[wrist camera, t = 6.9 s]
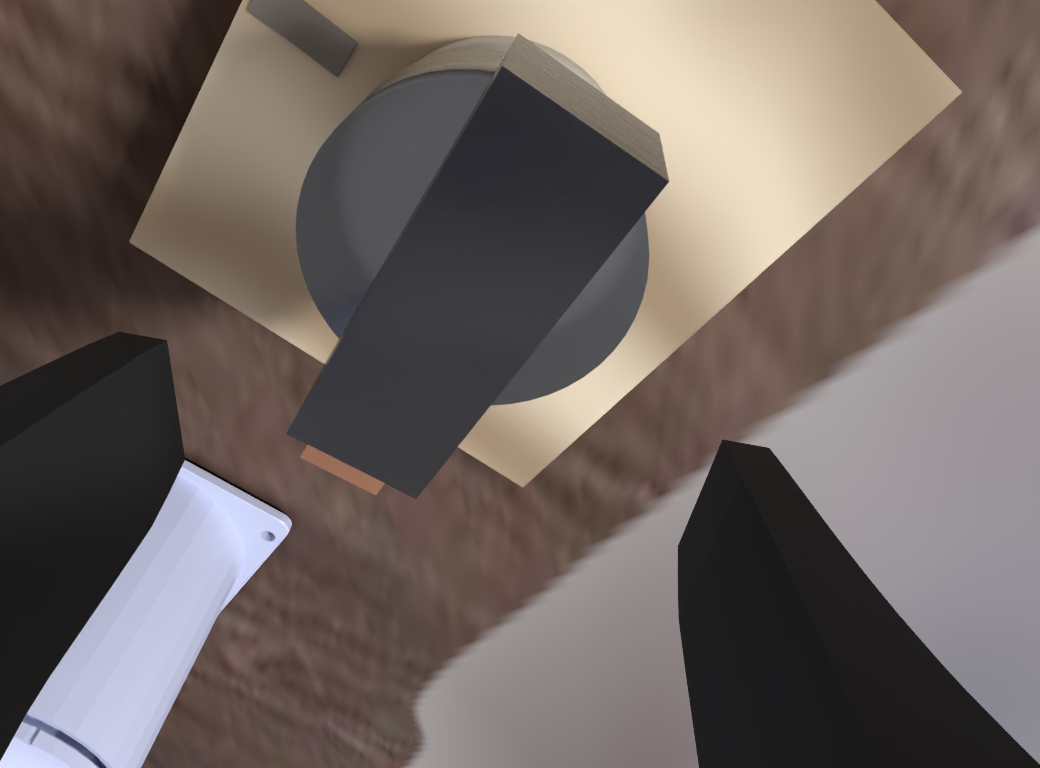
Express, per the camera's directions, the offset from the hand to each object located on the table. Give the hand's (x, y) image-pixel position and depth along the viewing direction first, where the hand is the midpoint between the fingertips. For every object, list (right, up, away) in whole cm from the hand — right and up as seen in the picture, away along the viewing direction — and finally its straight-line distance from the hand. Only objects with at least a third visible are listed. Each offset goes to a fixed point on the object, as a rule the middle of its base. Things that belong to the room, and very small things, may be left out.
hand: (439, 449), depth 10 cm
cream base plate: (+1, +7, +8) cm, 10 cm away
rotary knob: (0, +4, +5) cm, 6 cm away
